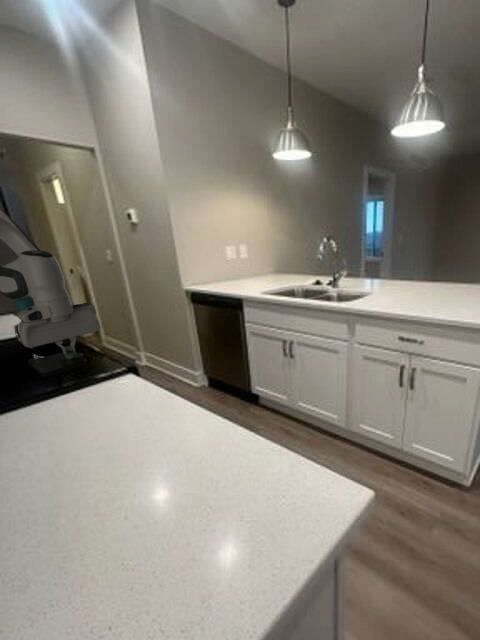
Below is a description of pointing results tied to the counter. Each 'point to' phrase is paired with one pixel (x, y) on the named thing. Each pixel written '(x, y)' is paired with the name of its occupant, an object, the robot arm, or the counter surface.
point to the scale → (56, 364)
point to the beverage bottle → (24, 303)
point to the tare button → (71, 355)
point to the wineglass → (21, 342)
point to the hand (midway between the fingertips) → (69, 352)
